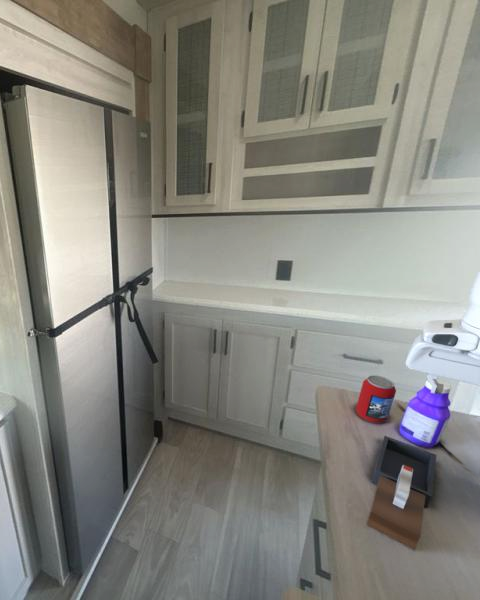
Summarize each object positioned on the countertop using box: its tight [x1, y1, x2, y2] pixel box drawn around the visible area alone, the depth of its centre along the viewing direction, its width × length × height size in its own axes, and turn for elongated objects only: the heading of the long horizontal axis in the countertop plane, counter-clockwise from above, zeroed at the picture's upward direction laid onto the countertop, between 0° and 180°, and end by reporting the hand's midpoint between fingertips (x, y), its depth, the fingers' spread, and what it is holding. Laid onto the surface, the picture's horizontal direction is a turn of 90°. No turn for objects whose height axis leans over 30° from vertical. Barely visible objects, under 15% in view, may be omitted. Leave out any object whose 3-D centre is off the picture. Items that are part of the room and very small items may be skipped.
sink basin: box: [370, 435, 437, 509], centre depth 75 cm, size 14×9×4 cm, turn 133°
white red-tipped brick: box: [393, 465, 413, 509], centre depth 67 cm, size 8×2×4 cm, turn 133°
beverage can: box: [355, 375, 397, 424], centre depth 90 cm, size 7×7×12 cm
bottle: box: [399, 379, 452, 449], centre depth 81 cm, size 7×6×17 cm
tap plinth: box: [366, 476, 425, 551], centre depth 67 cm, size 11×7×4 cm, turn 133°
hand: (471, 401), depth 63 cm, fingers open, 8 cm apart
